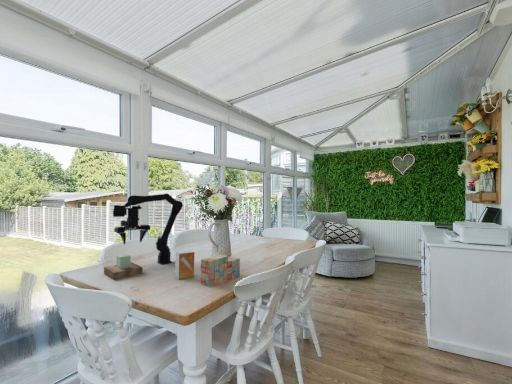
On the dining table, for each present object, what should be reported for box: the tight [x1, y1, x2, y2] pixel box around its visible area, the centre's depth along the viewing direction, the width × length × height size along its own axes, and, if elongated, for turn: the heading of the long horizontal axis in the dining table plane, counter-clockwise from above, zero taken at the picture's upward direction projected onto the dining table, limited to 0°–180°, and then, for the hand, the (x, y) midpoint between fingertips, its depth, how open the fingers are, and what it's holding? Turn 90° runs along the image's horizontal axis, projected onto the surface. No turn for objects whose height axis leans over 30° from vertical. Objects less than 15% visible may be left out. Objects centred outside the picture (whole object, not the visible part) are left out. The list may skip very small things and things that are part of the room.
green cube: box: [116, 253, 131, 269], centre depth 136 cm, size 5×5×6 cm
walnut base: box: [103, 261, 143, 281], centre depth 136 cm, size 14×14×4 cm
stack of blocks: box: [200, 254, 241, 288], centre depth 129 cm, size 21×6×12 cm, turn 143°
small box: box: [174, 249, 196, 280], centre depth 133 cm, size 8×6×13 cm
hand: (132, 243), depth 153 cm, fingers open, 9 cm apart
